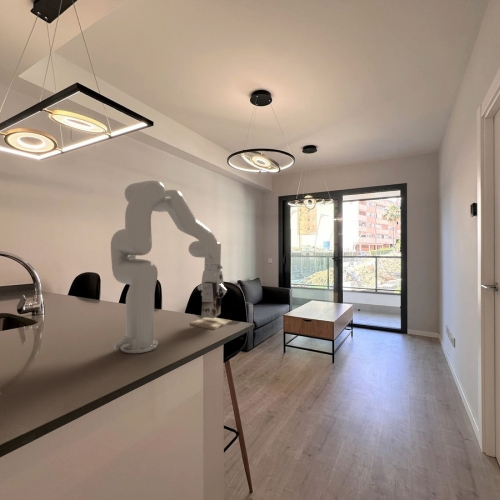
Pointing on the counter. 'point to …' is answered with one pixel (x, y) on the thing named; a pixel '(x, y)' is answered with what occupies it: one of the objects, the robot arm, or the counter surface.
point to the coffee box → (209, 301)
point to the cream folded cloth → (211, 323)
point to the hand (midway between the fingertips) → (211, 304)
